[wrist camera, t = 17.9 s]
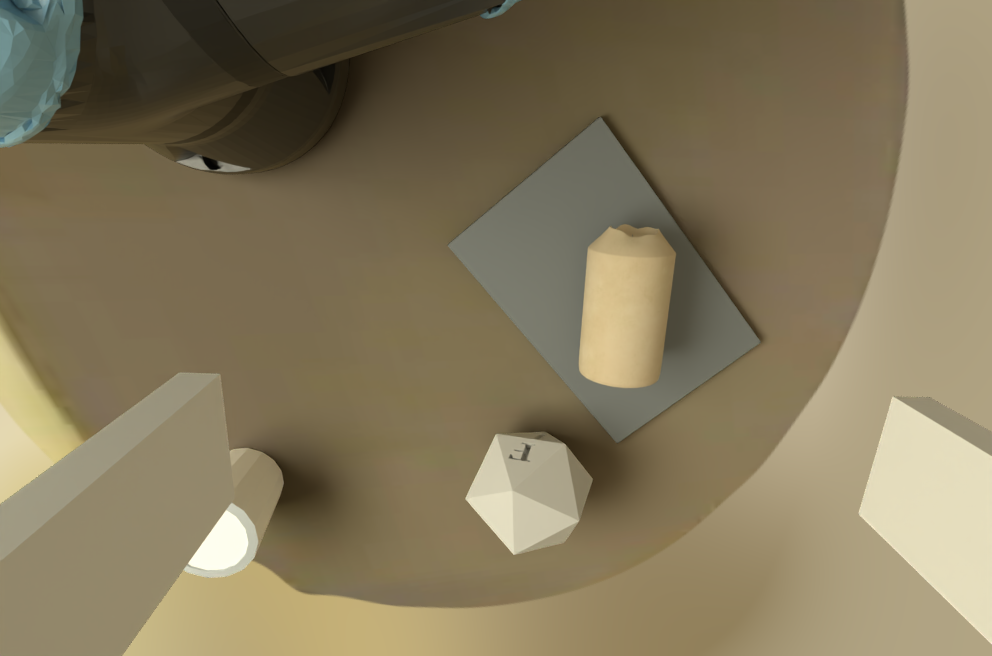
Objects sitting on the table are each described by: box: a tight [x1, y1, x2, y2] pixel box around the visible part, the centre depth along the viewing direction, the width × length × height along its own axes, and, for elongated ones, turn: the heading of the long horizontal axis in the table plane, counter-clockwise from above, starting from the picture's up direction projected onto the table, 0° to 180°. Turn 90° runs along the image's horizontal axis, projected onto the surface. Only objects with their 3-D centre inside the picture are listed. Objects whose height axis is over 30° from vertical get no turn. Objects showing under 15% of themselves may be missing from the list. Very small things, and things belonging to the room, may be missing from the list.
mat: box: [448, 117, 761, 443], centre depth 39 cm, size 20×13×1 cm, turn 39°
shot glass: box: [184, 448, 284, 578], centre depth 41 cm, size 7×7×7 cm
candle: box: [579, 224, 676, 388], centre depth 36 cm, size 6×6×10 cm
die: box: [465, 431, 593, 555], centre depth 40 cm, size 8×9×10 cm
